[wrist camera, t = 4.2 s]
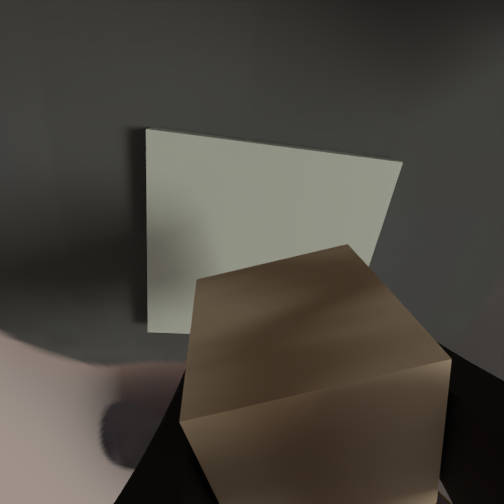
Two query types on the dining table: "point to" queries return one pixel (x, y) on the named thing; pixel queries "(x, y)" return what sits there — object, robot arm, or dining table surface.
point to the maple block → (313, 386)
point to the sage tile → (249, 210)
